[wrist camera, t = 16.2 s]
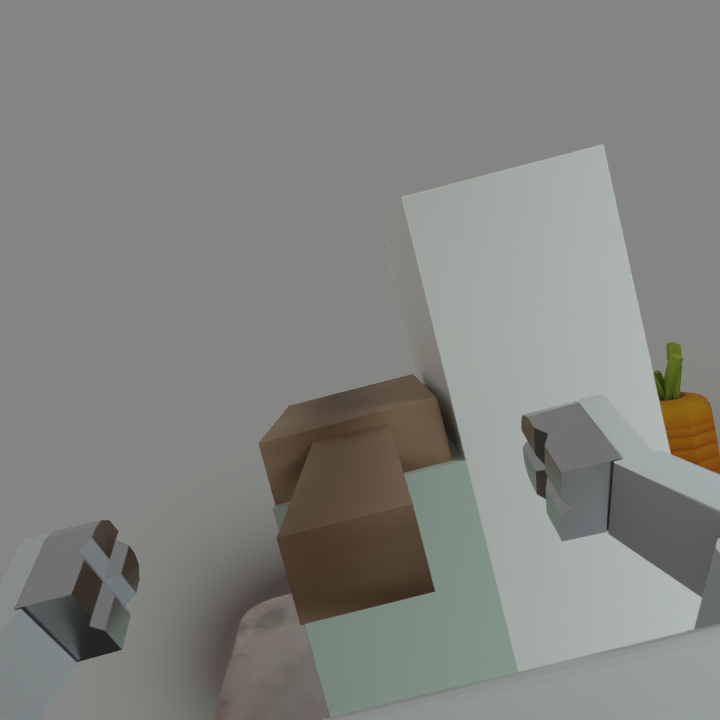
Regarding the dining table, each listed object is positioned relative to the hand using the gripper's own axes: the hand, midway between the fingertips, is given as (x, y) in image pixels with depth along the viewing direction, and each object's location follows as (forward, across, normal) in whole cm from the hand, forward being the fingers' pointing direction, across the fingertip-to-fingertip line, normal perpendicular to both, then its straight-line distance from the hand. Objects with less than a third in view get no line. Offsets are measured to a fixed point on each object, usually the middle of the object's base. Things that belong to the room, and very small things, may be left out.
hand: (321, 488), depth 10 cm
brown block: (+7, 0, +8) cm, 10 cm away
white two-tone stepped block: (+4, -4, +25) cm, 25 cm away
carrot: (+14, -22, +30) cm, 40 cm away
